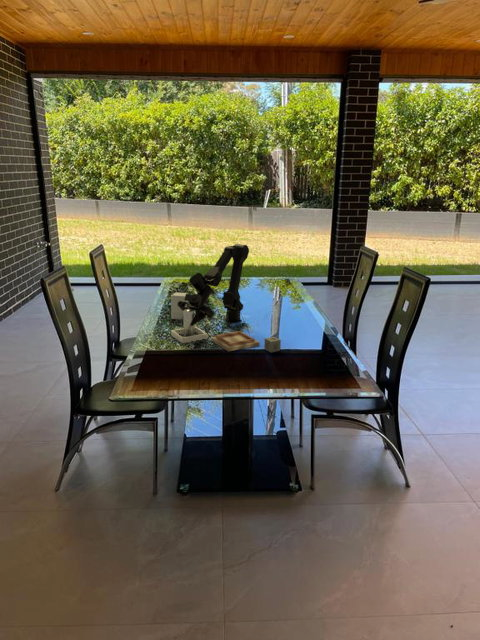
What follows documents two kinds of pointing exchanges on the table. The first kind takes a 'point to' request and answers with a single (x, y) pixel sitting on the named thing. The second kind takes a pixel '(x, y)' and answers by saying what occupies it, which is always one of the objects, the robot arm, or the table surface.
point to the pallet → (235, 341)
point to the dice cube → (272, 344)
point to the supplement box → (175, 310)
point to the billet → (188, 322)
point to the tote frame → (190, 338)
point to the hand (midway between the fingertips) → (186, 324)
